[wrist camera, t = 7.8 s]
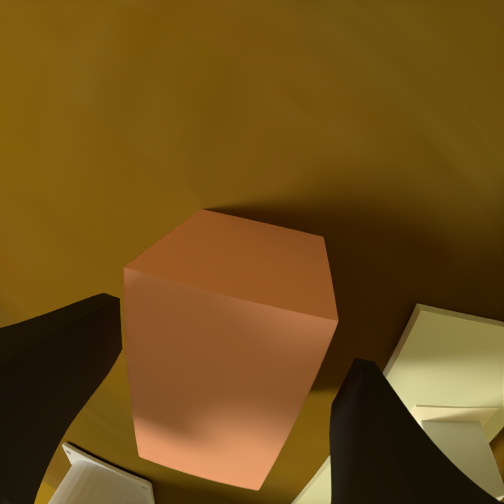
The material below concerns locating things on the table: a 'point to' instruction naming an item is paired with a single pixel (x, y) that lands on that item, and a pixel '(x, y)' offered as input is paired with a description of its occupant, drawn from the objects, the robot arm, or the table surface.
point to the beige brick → (467, 452)
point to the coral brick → (225, 343)
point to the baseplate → (440, 377)
